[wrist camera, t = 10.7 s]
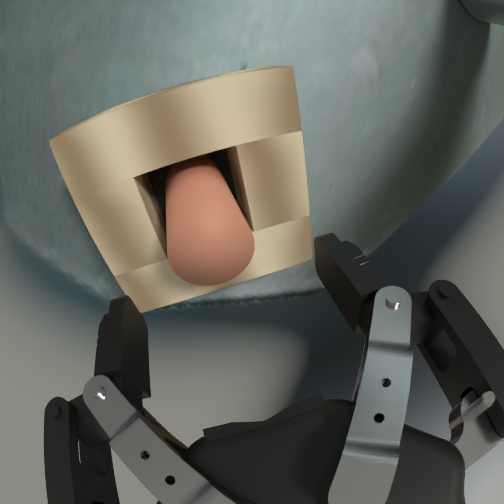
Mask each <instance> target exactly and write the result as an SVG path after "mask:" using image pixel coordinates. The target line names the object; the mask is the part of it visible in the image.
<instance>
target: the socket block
mask: <svg viewBox="0 0 504 504" xmlns="http://www.w3.org/2000/svg"><path fill="white" fill-rule="evenodd" d="M49 144H50V146H51V149H52V151H53V154H54V157H55V159H56V162H57V164H58V166H59V169H60V171H61V174H62V176H63V178H64V181H65V183H66V185H67V187H68V190H69V192H70V194H71V196H72V198H73V200H74V202H75V205H76V207H77V209H78V211H79V213H80V215H81V217H82V219H83V221H84V223H85V225H86V227H87V229H88V231H89V232H90V234H91V236H92V238H93V240H94V242H95V244H96V245H97V247H98V249H99V251H100V253H101V254H102V256H103V258H104V260H105V261H106V263H107V265H108V267H109V268H110V270H111V272H112V273H113V275H114V277H115V278H116V280H117V282H118V283H119V285H120V287H121V288H122V290H123V291H124V293H125V294H126V295H128V296H129V297H130V298H131V300H132V301H133V303H134V304H135V306H136V307H137V309H138V310H139V312H140V313H143V312H146V311H150V310H153V309H157V308H160V307H163V306H167V305H170V304H173V303H177V302H180V301H183V300H187V299H190V298H193V297H196V296H200V295H203V294H206V293H209V292H213V291H216V290H219V289H222V288H225V287H229V286H232V285H235V284H238V283H241V282H244V281H248V280H251V279H254V278H257V277H260V276H263V275H266V274H269V273H272V272H275V271H278V270H282V269H285V268H288V267H291V266H294V265H297V264H300V263H303V262H306V261H309V260H312V245H311V228H310V214H309V200H308V188H307V177H306V166H305V157H304V147H303V138H302V130H301V121H300V113H299V106H298V99H297V91H296V85H295V78H294V71H293V66H271V67H259V68H253V69H247V70H241V71H236V72H231V73H226V74H221V75H217V76H212V77H208V78H204V79H200V80H196V81H192V82H188V83H184V84H181V85H177V86H174V87H170V88H167V89H164V90H161V91H157V92H154V93H151V94H148V95H145V96H143V97H140V98H137V99H134V100H131V101H129V102H126V103H123V104H121V105H118V106H116V107H113V108H111V109H108V110H106V111H104V112H101V113H99V114H97V115H94V116H92V117H90V118H88V119H85V120H83V121H81V122H79V123H77V124H75V125H73V126H71V127H70V128H68V129H67V130H65V131H64V132H62V133H60V134H59V135H57V136H56V137H54V138H53V139H51V140H50V141H49ZM224 148H225V149H226V153H227V157H228V162H229V166H230V171H231V175H232V179H233V184H234V188H235V192H236V197H237V200H235V201H236V203H237V205H238V206H239V208H240V210H241V212H242V214H243V216H244V218H245V220H246V222H247V224H248V226H249V228H250V230H251V232H252V234H253V237H254V242H255V249H254V254H253V257H252V259H251V261H250V263H249V264H248V266H247V267H246V268H245V270H244V271H243V272H242V273H240V274H239V275H238V276H237V277H235V278H233V279H232V280H230V281H227V282H225V283H222V284H218V285H212V286H200V285H195V284H191V283H189V282H186V281H185V280H183V279H181V278H180V277H179V276H178V275H176V274H175V272H174V271H173V270H172V268H171V266H170V264H169V261H168V256H167V234H166V222H165V219H164V216H163V214H162V211H161V209H160V206H159V203H158V201H157V198H156V195H155V193H154V190H153V187H152V184H151V182H150V179H149V176H148V173H147V172H150V171H152V170H155V169H158V168H161V167H164V166H167V165H170V164H173V163H176V162H180V161H183V160H186V159H189V158H193V157H196V156H199V155H203V154H206V153H210V152H213V151H217V150H221V149H224Z"/></svg>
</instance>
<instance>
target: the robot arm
mask: <svg viewBox="0 0 504 504" xmlns="http://www.w3.org/2000/svg"><path fill="white" fill-rule="evenodd" d="M461 2H462V4H463V5H464V7H465V8H466V10H467V11H468V12H469V13H470V14H471V15H472V17H474V18H475V19H476V20H478V21H481V22H488V23H494V24H499V25H504V0H461ZM314 246H315V266H316V271H317V274H318V276H319V278H320V280H321V281H322V283H323V285H324V286H325V288H326V289H327V291H328V292H329V294H330V296H331V297H332V299H333V300H334V302H335V304H336V305H337V307H338V308H339V310H340V312H341V313H342V315H343V316H344V318H345V320H346V321H347V323H348V324H349V326H350V328H351V330H352V331H353V333H354V334H355V335H356V334H358V333H361V332H364V334H365V335H366V341H365V347H364V352H363V356H362V362H361V366H360V371H359V375H358V379H357V383H356V387H355V391H354V394H353V398H352V401H349V400H343V399H327V400H324V399H323V397H322V395H321V394H319V395H316V396H313V397H311V398H308V399H305V400H303V401H300V402H297V403H294V404H292V405H290V406H289V407H287V408H285V409H284V410H282V411H281V412H279V413H277V414H276V415H274V416H272V417H271V418H269V419H267V420H265V421H259V422H231V423H227V424H223V425H219V426H215V427H211V428H206V429H203V432H204V437H202V438H200V439H198V440H197V441H195V442H194V443H193V444H192V445H191V446H190V447H189V448H188V447H187V446H186V445H184V444H183V443H182V442H180V441H179V440H178V439H176V438H175V437H174V436H173V435H171V434H170V433H169V432H168V431H167V430H166V429H165V428H164V427H163V426H162V425H161V424H160V423H159V422H158V421H157V420H156V419H155V418H154V417H153V416H152V415H151V414H150V413H149V412H148V411H147V410H146V409H145V408H144V407H143V405H142V399H144V398H149V397H151V390H150V376H149V354H148V329H147V325H146V322H145V319H144V318H143V316H142V315H141V313H140V312H139V310H138V309H137V307H136V306H135V304H134V303H133V301H132V300H131V298H130V297H129V296H128V295H126V296H123V297H119V298H116V299H113V300H111V302H110V308H109V313H108V314H105V315H104V317H103V319H102V321H101V323H100V325H99V331H98V336H99V337H98V340H97V345H98V346H97V350H96V360H95V371H94V377H93V378H91V379H90V380H89V381H88V382H87V383H86V385H85V387H84V390H83V394H82V395H80V396H78V397H76V398H75V399H73V400H71V401H69V402H68V401H66V400H65V399H63V398H62V397H55V398H53V399H52V400H50V401H49V403H48V404H47V406H46V408H45V414H44V415H45V416H44V463H45V478H46V489H47V498H48V504H120V503H119V497H118V492H117V488H116V482H115V476H114V469H113V463H112V455H111V448H112V449H113V450H114V451H115V453H116V454H117V455H118V456H119V458H120V459H121V460H122V461H123V462H124V464H125V465H126V466H127V467H128V468H129V469H130V471H132V473H133V474H134V475H135V476H136V477H137V478H138V479H139V480H140V482H141V483H142V484H143V485H144V486H145V487H146V488H147V489H148V490H149V491H150V492H151V493H152V494H153V495H154V496H155V497H156V498H157V499H158V502H157V504H465V498H464V479H465V469H467V468H468V467H469V466H471V465H472V464H473V463H475V462H476V461H477V460H478V459H480V458H481V457H482V456H483V455H485V454H486V453H487V452H489V451H490V450H491V449H492V448H493V447H494V446H496V445H497V444H498V443H500V442H501V441H503V440H504V349H503V348H502V347H501V345H500V343H499V342H498V341H497V339H496V338H495V336H494V335H493V333H492V332H491V330H490V329H489V328H488V326H487V325H486V324H485V322H484V321H483V320H482V318H481V317H480V315H479V314H478V313H477V312H476V310H475V309H474V308H473V306H472V305H471V304H470V303H469V301H468V300H467V299H466V297H465V296H464V295H463V294H462V292H461V291H460V290H459V289H458V288H457V287H456V285H454V284H453V283H451V282H449V281H446V280H437V281H435V282H433V283H432V284H431V285H430V288H429V290H428V291H426V292H419V293H407V292H406V291H405V290H404V289H402V288H400V287H396V286H391V285H390V284H389V283H388V282H387V281H386V280H385V278H384V277H383V276H382V275H381V274H380V272H379V271H378V270H377V269H376V268H375V266H373V264H372V263H371V262H369V260H368V258H367V257H366V256H364V254H363V253H362V251H361V250H360V249H359V248H358V247H357V246H356V245H354V244H352V243H350V242H348V241H343V242H340V240H339V239H338V238H337V237H336V236H335V235H334V234H333V233H328V234H325V235H322V236H319V237H316V238H315V239H314ZM415 344H416V345H417V346H418V348H419V350H420V351H421V353H422V355H423V357H424V358H425V360H426V362H427V363H428V365H429V367H430V368H431V370H432V372H433V374H434V376H435V377H436V379H437V381H438V382H439V384H440V386H441V388H442V390H443V392H444V394H445V395H446V397H447V399H448V401H449V403H450V405H451V407H452V410H451V412H450V414H449V427H450V430H451V439H450V441H447V440H445V439H442V438H439V437H436V436H434V435H431V434H428V433H426V432H423V431H421V430H418V429H416V428H413V427H410V426H408V425H406V424H404V420H405V414H406V408H407V402H408V395H409V387H410V379H411V370H412V360H413V351H412V349H411V348H410V345H415ZM78 442H79V449H80V461H81V464H80V461H79V451H78ZM110 446H111V447H110Z"/></svg>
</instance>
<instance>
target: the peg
mask: <svg viewBox="0 0 504 504" xmlns="http://www.w3.org/2000/svg"><path fill="white" fill-rule="evenodd" d="M166 234H167V256H168V261H169V264H170V266H171V268H172V270H173V271H174V272H175V274H176V275H178V276H179V277H180V278H181V279H183V280H185V281H186V282H189V283H191V284H195V285H200V286H212V285H218V284H222V283H225V282H227V281H230V280H232V279H233V278H235V277H237V276H238V275H239V274H240V273H242V272H243V271H244V270H245V268H246V267H247V266H248V264H249V263H250V261H251V259H252V257H253V254H254V249H255V242H254V237H253V234H252V232H251V230H250V228H249V226H248V224H247V222H246V220H245V218H244V216H243V214H242V212H241V210H240V208H239V206H238V205H237V203H236V201H235V199H234V197H233V195H232V193H231V191H230V189H229V187H228V185H227V183H226V181H225V180H224V178H223V176H222V174H221V172H220V170H219V168H218V166H217V164H216V162H215V161H214V159H213V158H212V157H211V156H209V155H208V154H203V155H199V156H196V157H193V158H189V159H186V160H183V161H180V162H176V163H173V164H170V165H168V167H167V170H166Z"/></svg>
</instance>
